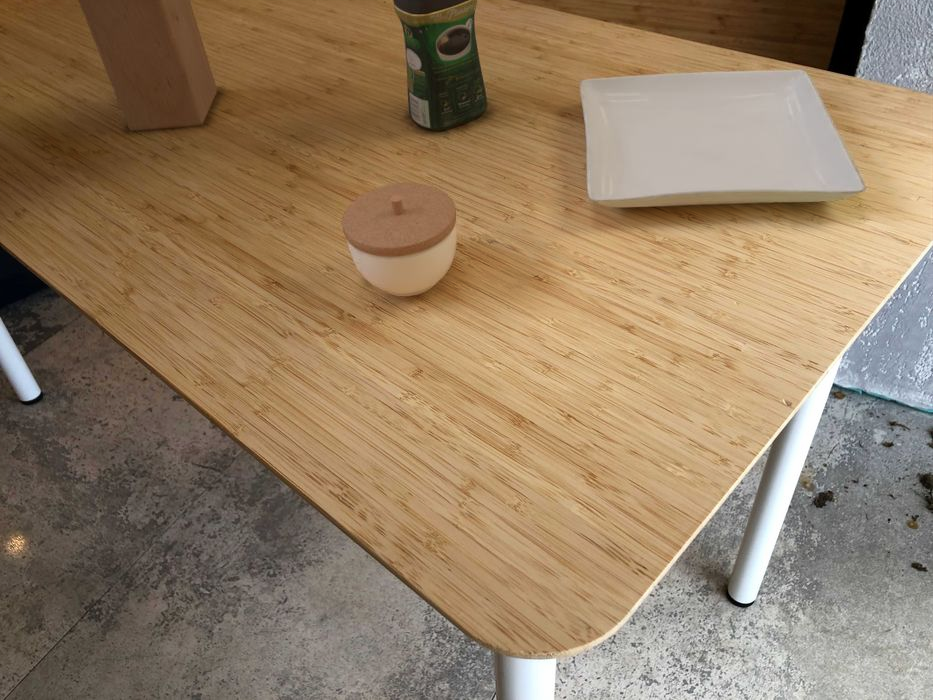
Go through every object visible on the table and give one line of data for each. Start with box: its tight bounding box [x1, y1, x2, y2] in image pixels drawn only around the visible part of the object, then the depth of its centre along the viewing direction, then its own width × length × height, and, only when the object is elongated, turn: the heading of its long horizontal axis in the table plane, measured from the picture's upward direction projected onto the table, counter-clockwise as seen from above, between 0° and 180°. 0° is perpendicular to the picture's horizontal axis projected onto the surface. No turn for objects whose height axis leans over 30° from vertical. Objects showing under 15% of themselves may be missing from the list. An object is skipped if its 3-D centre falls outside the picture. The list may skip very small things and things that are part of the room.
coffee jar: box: [392, 0, 488, 132], centre depth 102 cm, size 10×8×19 cm
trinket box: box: [341, 182, 458, 297], centre depth 81 cm, size 11×11×9 cm
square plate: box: [579, 69, 867, 208], centre depth 95 cm, size 27×27×4 cm
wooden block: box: [78, 0, 218, 132], centre depth 109 cm, size 10×10×20 cm
